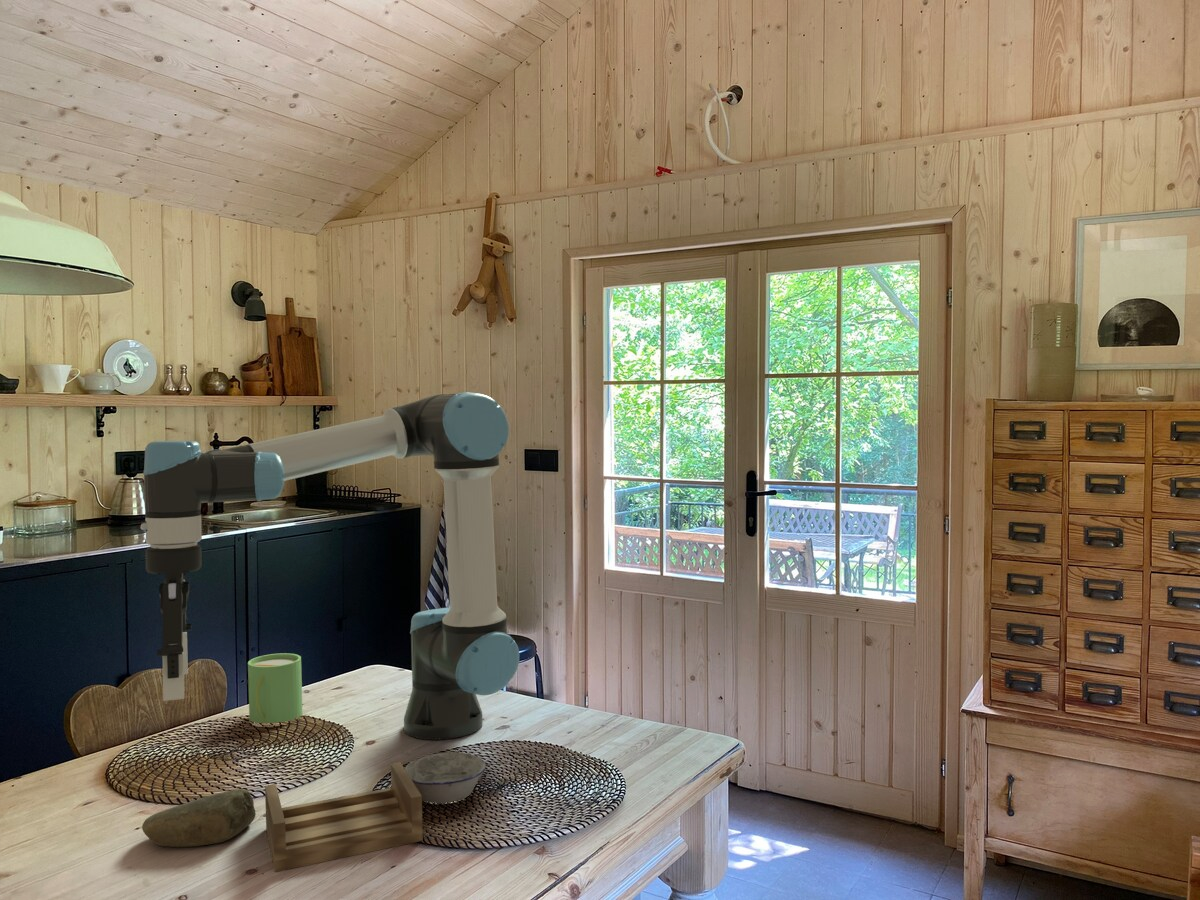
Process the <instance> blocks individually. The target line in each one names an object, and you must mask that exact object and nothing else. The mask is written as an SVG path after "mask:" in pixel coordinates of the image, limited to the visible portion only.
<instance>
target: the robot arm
mask: <svg viewBox="0 0 1200 900" xmlns="http://www.w3.org/2000/svg"><path fill="white" fill-rule="evenodd" d="M509 427H510V425H509V421H508V418H507V414H506V413H505V410H504V409H503V408H502V406H501V405H500V404H499V403H498V402H497V401H496V400H495V399H493V398H492V397H490V396H488V395H487V394H486V395H485V394H482V393H478V392H477V393H476V392H468V391H466V392H459V393H445V394H444V393H441V394H440V393H439V394H436V395H435V394H433V395H431V396H428V397H425V398H422V399H418V400H416V401H412V402H409V403H405V404H403V405H402V404H401V405H399V406H395V407H390V408H386V409H385V410H384V412H383V414H382V415H379V416H373V417H369V418H365V419H360V420H356V421H350V422H346V423H342V424H337V425H332V426H328V427H323V428H322V427H321V428H318V429H314V430H308V431H303V432H299V433H295V434H294V433H293V434H290V435H285V436H279V437H276V438H271V439H267V440H266V439H265V440H261V441H257V442H253V443H252V442H251V443H248V444H243V445H238V446H235V447H234V446H233V447H229V448H224V449H220V448H217V449H216V448H215V449H212V450H208V451H205V452H202V450H201V446H200V443H199V442H198V441H195V440H156V441H150V442H149V443H147V445H146V446H145V450H144V461H143V462H144V464H143V465H144V468H143V471H142V473H143V482H144V483H143V485H144V512H145V513H144V515H145V522H143V523H141V525H140V529H141V530H143V531H145V530H147V531H146V532H145V543H146V544H148V545H150V546H148V547H147V548H146V549H145V571H146V572H147V573H148V574H150V575H151V574H152V575H164V582H160V584H159V586H158V595H159V598H160V613H161V614H162V645H161V648H160V649H157V650H156V656H157V657H162V701H163V702H167V701H175V700H176V701H177V700H185V675H188V673H189V671H188V668H189V667H188V631H189V632H190V631H192V623H187V622H188V618H187V611H188V606H187V605H188V603H189V595H190V580H189V581H186V578H185V577H186V573H193V572H196V571H199V570H200V569H201V568H202V564H203V561H202V556H203V554H202V546H201V545H200V544H198V543H199V542H201V540H202V539H203V537H202V531H203V530H202V512H201V511H202V509H201V508H202V504H204V503H205V504H212V503H222V502H223V503H225V502H226V503H228V502H248V501H249V502H251V501H257V502H261V501H266V500H275V499H277V498H279V497H280V496H281V494H282V492H283V490H284V484H285V482H286V481H289V480H293V479H298V478H302V477H306V476H310V475H314V474H319V473H323V472H327V471H332V470H336V469H340V468H341V469H342V468H344V467H349V466H352V465H357V464H361V463H365V462H369V461H375V460H377V459H382V458H387V457H390V456H393V457H394V458H395V459H397V460H402V459H405V458H410V457H415V456H416V457H417V456H433V467H434V471H435V472H436V473H437V474H438V475H439V476H441V479H442V480H443V481H442V482H443V496H444V497H443V498H444V499H443V500H444V518H445V535H446V538H445V539H446V552H447V553H446V554H447V556H446V557H447V571H448V572H447V573H448V575H447V577H448V592H449V593H448V594H449V595H448V596H449V607H441V608H433V609H427V610H422V611H418V612H416V613H414V614H413V616H412V617H411V621H410V630H409V631H410V632H409V634H410V646H411V647H410V649H411V650H410V651H411V680H412V681H411V682H412V683H411V684H412V689H411V693H410V697H409V699H408V700H409V701H408V703H407V706H406V710H405V713H404V717H403V731H404V733H405V734H407V735H408V736H410V737H413V738H416V739H423V740H431V741H432V740H433V741H434V740H449V739H455V738H459V737H460V738H461V737H464V736H467V735H470V734H473V733H474V732H477V731H478V730H480V729H481V728H482V726H483V711H482V708H481V705H480V702H479V700H478V697H477V696H490V695H493V694H496V693H498V692H500V691H501V690H503V689H504V688H505V687H507V685H509V682H510V681H511V680H512V679H513V678H514V676H515V675H516V672H517V671H518V667H519V664H520V650H519V646H518V644H517V643H516V641H515V640H514V638H513V637H512V636H511V635H510V634H508V623H507V622H508V621H507V620H508V619H507V614H506V612H504V611H503V610H502V609H501V608H500V606H499V605H498V593H497V591H498V589H497V570H496V569H497V568H496V549H495V548H496V547H495V530H494V529H495V528H494V524H495V523H494V508H493V487H492V485H493V483H492V482H493V481H492V476H493V475H494V473H495V472H496V471H497V470H498V469H499V468H500V457H499V456H500V455H499V454H500V453H501V451H502V450H503V448H504V446H506V444H507V442H508V440H509V432H510V428H509Z"/></svg>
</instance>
